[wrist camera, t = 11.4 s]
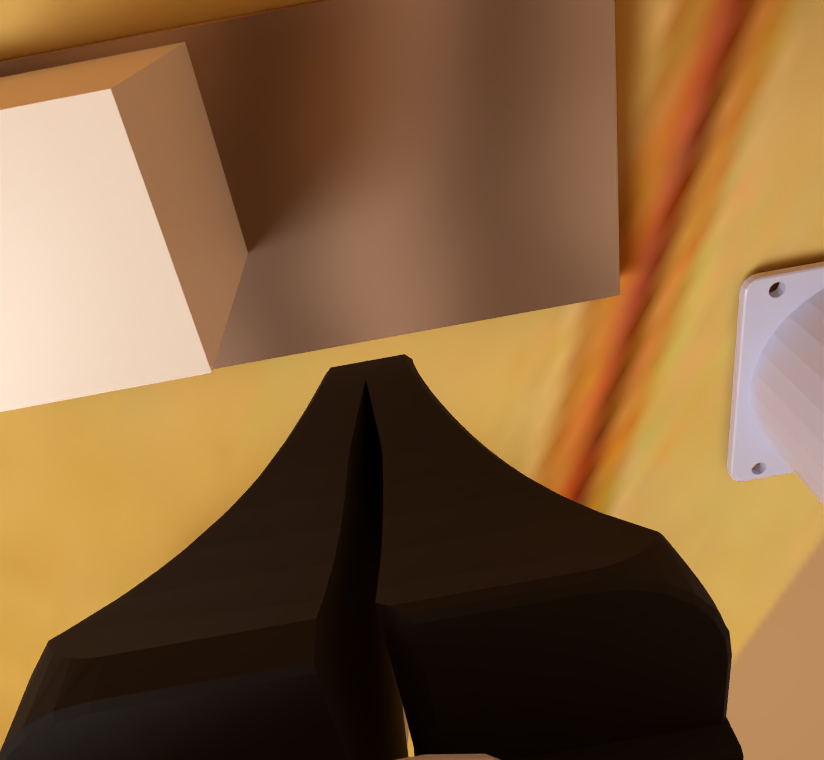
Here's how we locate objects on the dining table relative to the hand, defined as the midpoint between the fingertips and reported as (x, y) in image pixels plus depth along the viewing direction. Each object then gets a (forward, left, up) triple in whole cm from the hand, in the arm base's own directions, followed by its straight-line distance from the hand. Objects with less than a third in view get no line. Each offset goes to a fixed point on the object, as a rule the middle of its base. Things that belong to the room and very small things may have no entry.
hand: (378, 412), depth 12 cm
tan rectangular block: (+6, -2, -9) cm, 11 cm away
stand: (+2, -1, -10) cm, 11 cm away
